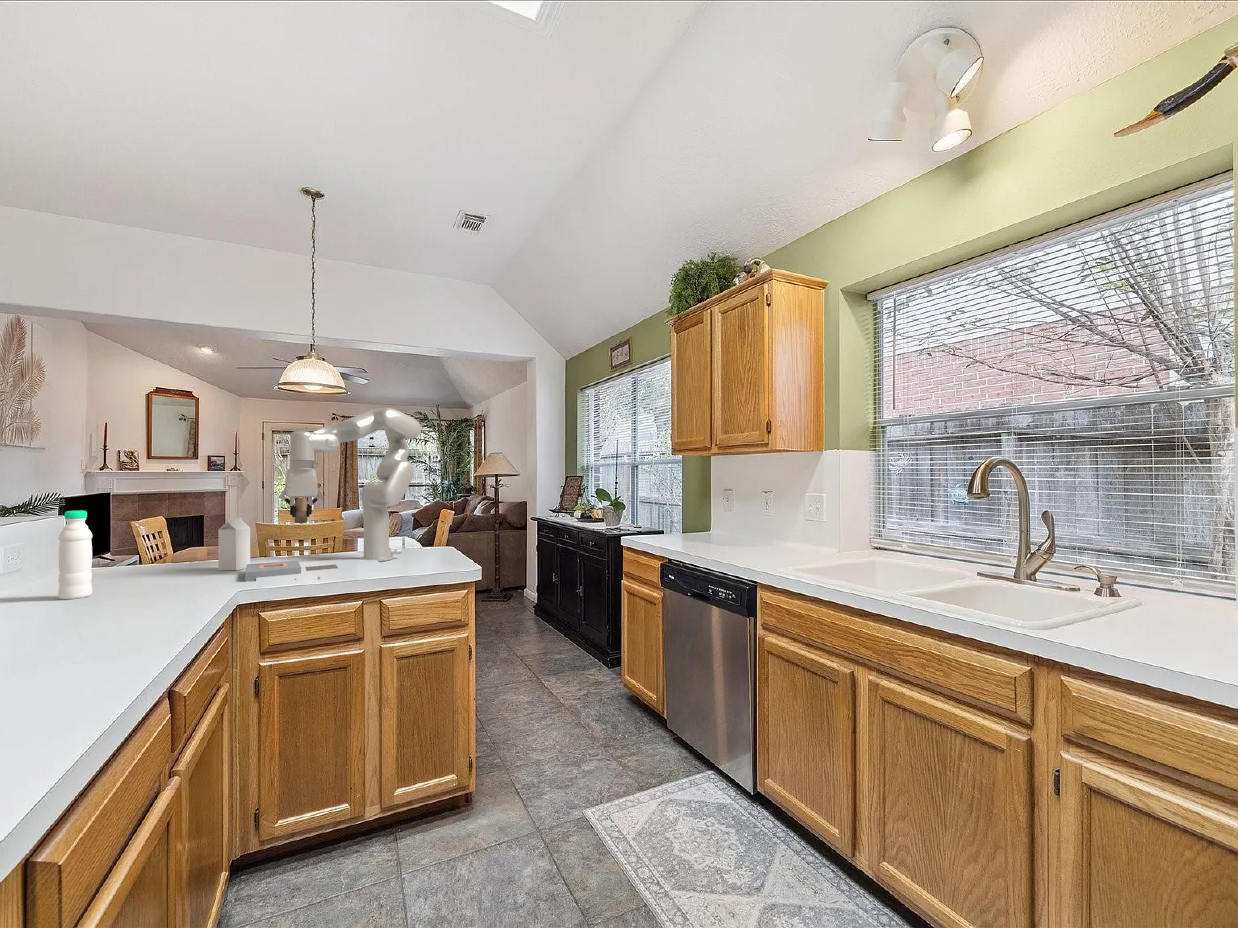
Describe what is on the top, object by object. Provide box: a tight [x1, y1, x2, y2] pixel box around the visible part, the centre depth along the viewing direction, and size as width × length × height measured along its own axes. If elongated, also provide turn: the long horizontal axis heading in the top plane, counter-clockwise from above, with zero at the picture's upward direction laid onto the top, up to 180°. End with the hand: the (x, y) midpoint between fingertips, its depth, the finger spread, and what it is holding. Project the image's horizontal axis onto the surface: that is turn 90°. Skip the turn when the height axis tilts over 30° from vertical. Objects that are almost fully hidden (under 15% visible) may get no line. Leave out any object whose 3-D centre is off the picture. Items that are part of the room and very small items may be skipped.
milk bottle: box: [57, 510, 93, 601], centre depth 164 cm, size 7×7×25 cm
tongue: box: [304, 564, 339, 572], centre depth 207 cm, size 10×10×1 cm
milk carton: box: [217, 517, 251, 571], centre depth 212 cm, size 7×7×19 cm
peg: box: [293, 497, 308, 524], centre depth 203 cm, size 4×4×9 cm
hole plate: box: [244, 560, 302, 582], centre depth 199 cm, size 16×20×3 cm
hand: (300, 516), depth 203 cm, fingers closed on peg, 4 cm apart
